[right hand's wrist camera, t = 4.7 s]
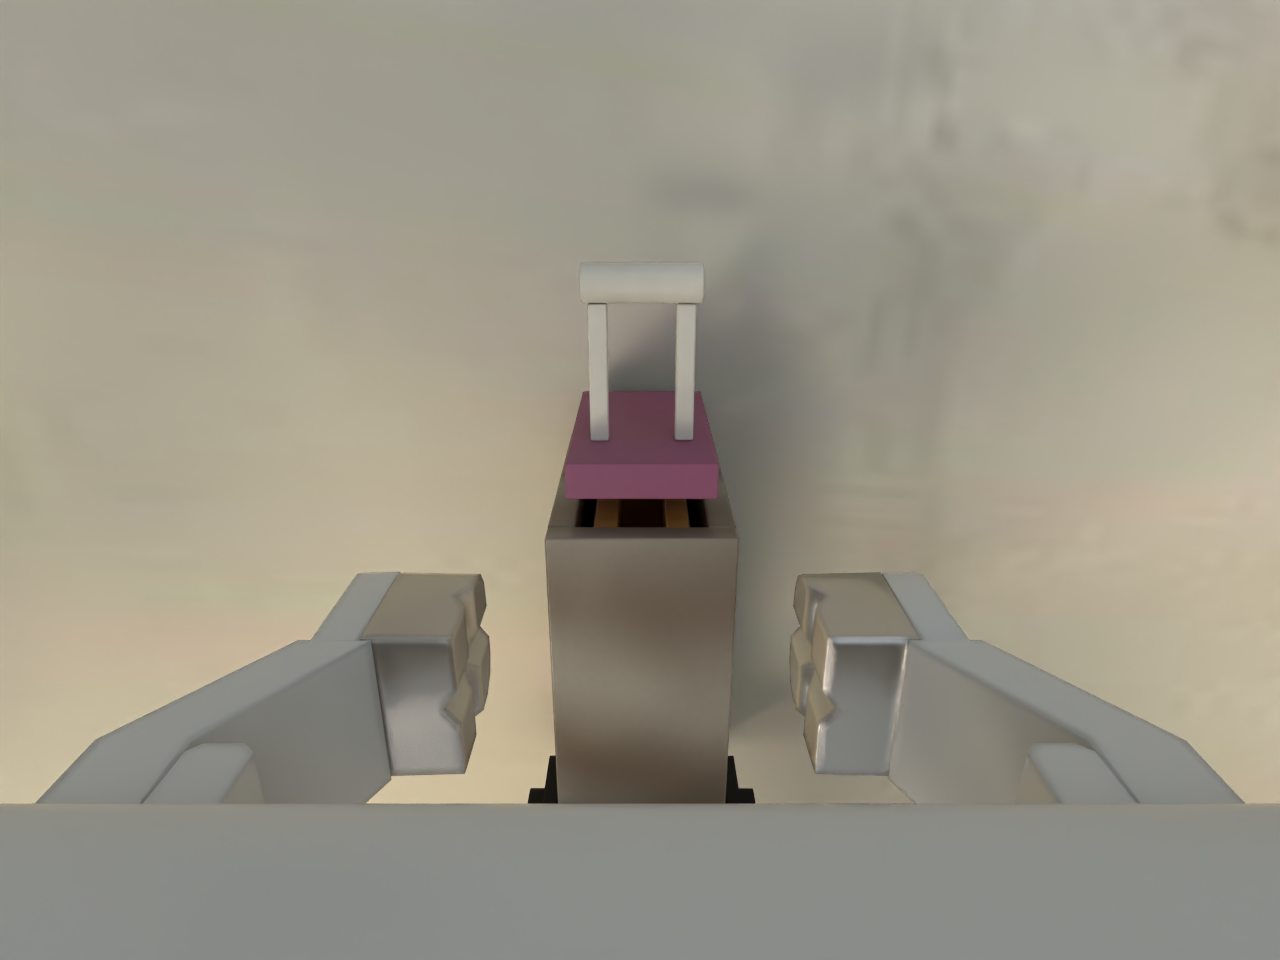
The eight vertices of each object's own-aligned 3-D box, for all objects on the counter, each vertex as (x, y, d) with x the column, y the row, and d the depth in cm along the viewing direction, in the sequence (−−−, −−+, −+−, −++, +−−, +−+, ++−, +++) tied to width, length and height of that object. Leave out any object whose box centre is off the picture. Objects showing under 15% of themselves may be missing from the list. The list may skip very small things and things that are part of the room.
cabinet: (571, 433, 33) (544, 538, 24) (711, 433, 33) (739, 538, 24) (582, 746, 40) (564, 928, 30) (700, 746, 40) (719, 928, 30)
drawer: (578, 244, 30) (556, 272, 22) (704, 244, 30) (726, 272, 22) (591, 705, 38) (579, 844, 30) (691, 705, 38) (704, 844, 30)
